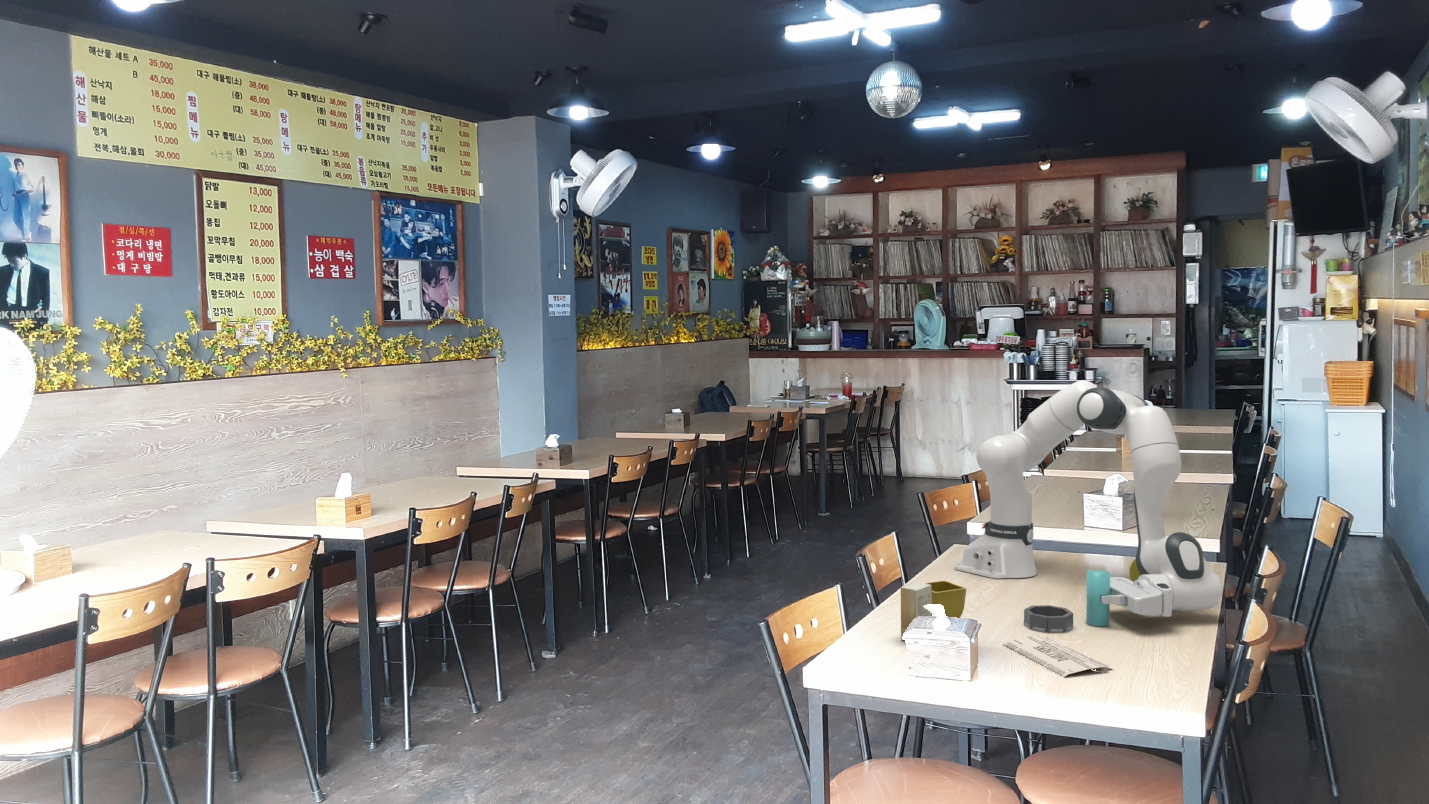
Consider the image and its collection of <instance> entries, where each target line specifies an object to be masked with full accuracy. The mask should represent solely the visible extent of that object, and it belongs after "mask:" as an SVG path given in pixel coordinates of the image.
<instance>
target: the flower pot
mask: <svg viewBox="0 0 1429 804" xmlns="http://www.w3.org/2000/svg"><path fill="white" fill-rule="evenodd" d="M923 583H924V584H929V585H931V595H932V604H941V605H943V606H944V609H945V614H946V616H948V617H957V618H960V619H961V617H962V614H963V613H964V609H965V605H966V594H967V587H965V586H961V585H958V584H956V583H952V582H950V581H948V580H937V581H932V582H923Z"/></svg>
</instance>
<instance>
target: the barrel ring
mask: <svg viewBox="0 0 1429 804" xmlns="http://www.w3.org/2000/svg"><path fill="white" fill-rule="evenodd" d="M1024 624H1025V625H1024ZM1023 625H1024V626H1025V627H1026V628H1027V627H1028V628H1027V629H1029V628H1030V629H1032V630H1031V631H1035V630H1036V632H1039V631H1042V632H1041V633H1046V632H1052V633H1051V634H1061V633H1068V632H1069V631H1072V630H1073V629H1074V612H1072V611H1071V610H1069V609H1068V608H1066V607H1063V606H1062V607H1060V606H1055V605H1048V604H1046V605H1045V604H1044V605H1030V606H1029V607H1026V608H1025V609H1024V610H1023ZM1072 628H1073V629H1072ZM1030 629H1029V630H1030ZM1067 631H1068V632H1067ZM1053 632H1054V633H1053Z"/></svg>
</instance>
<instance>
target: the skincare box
mask: <svg viewBox="0 0 1429 804" xmlns="http://www.w3.org/2000/svg"><path fill="white" fill-rule="evenodd" d="M924 583H925V582H919V581H914V582H911V583H908V584H905V585H902V586H900V639H901V638H902V636H903V633H904V632H905V630H906V629H907V627H908V626H909V624H910V623H911V622H912V620H913V619H914V618H916V617H918V616H932V613H930V611H928V610H927V609H925V608H924V607H923V606H924V605H927V604H932V595H931V585H929V584H924Z"/></svg>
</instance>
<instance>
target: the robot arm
mask: <svg viewBox="0 0 1429 804" xmlns="http://www.w3.org/2000/svg"><path fill="white" fill-rule="evenodd" d="M1084 425H1085V426H1088V427H1089V428H1091V429H1094V430H1098V431H1101V432H1105V433H1108V434H1115V435H1122V436H1125V438H1126V440H1127V443H1128V449H1129V454H1130V460H1131V463H1132V464H1131V465H1132V473H1133V474H1132V475H1133V502H1134V503H1133V504H1134V512H1135V519H1136V521H1135V522H1136V529H1137V539H1138V540H1137V542H1138V545H1137V550H1136V554H1135V559H1136V566H1137V569H1138V571H1139V573H1140V574H1141V575H1140V576H1139V578H1138V579H1137V580H1136V581H1134V582H1133V581H1131V579H1129V578H1127V577H1120V576H1119V577H1118V576H1110V595H1100V602H1101V603H1103V604H1110V605H1115V606H1121V607H1122V608H1124V609H1126V610H1128V611H1130V612H1132V613H1134V614H1136V615H1137V614H1138V615H1141V616H1143V615H1145V616H1160V617H1163V618H1168V617H1172V612H1173V611H1180V612H1197V611H1198V612H1199V611H1204V610H1209V609H1211V608H1214V607H1215V606H1217V605H1218V603H1219V602H1220V601H1221V598H1222V595H1223V583H1222V581H1221V580H1222V579H1221V578H1220V577H1219V576H1218V575H1217V573H1215V572H1214V571H1213V570H1212V569H1211V567H1210V566H1209V564H1208V563H1207V561H1206V559H1205V556H1204V551H1203V548H1202V545H1201V544H1200V542H1199V541H1198V540H1197V539H1196V538H1195V537H1194V536H1193V535H1191V534H1189V533H1187V532H1183V531H1179V532H1178V531H1177V532H1174V533H1171V534H1169V535H1166V529H1165V521H1164V512H1163V506H1164V501H1165V498H1166V497H1167V494H1168V492H1169V490H1170V489H1171V488H1172V486H1173V484H1174V483H1175V482H1176V481H1177V480H1178V478H1179V476H1180V474H1181V470H1182V458H1181V451H1180V448H1179V443H1178V440H1177V436H1176V433H1175V431H1174V430H1175V429H1174V427H1173V425H1172V422H1171V420H1170V418H1169V416H1168V413H1167V412H1166V410H1165V409H1163V408H1162V407H1161V406H1157V405H1150V404H1149V403H1148V402H1147V401H1146V400H1144V399H1143V398H1141V397H1140V396H1138V395H1134V394H1131V393H1129V392H1126V391H1123V390H1118V389H1111V388H1107V387H1101V386H1100V387H1099V386H1097V385H1096V384H1094V383H1093V382H1091V381H1089V380H1084V379H1082V380H1081V379H1080V380H1077V381H1075V382H1073V383H1071V384H1069V385H1067V386H1065V387H1064V388H1062V389H1061V390H1059V391H1057V392H1055V393H1054V394H1053V395H1052V396H1050V397H1049V398H1048V399H1047V400H1045V401H1044V402H1043V403H1042V404H1040V405H1039V406H1038V407H1036V408H1035V409H1034V410H1033V411H1032V412H1030V413H1028V415H1027V417H1026V420H1025V421H1024V422H1023V424H1021V425H1020V426H1019V427H1018V428H1017V429H1016V430H1014V431H1011V432H1009V433H1006V434H1001V435H994V436H992V437H990V438H988V439H986V440H985V441H983V442H982V443H981V444H980V445H979V446H978V448H977V451H976V456H975V457H976V462H977V465H978V467H979V468H980V469H981V471H982V472H983V473H984V475H985V477H986V481H987V485H988V489H989V496H990V500H989V502H990V520H989V521H986V522H985V523H983V524H981V526H982V527H981V529H984V533H983V534H982V535H980V536H979V537H978V538H976V539H975V540H973V541H972V542H970V543H969V544H968V545H966V547H965V548H964V551H963V552H964V553H963V555H962V560H960V561H958V562H956V563H955V564H954V570H957V571H960V572H961V571H962V572H965V573H969V574H975V575H979V576H982V577H987V578H990V579H998V580H999V579H1022V578H1031V577H1034V576H1036V575H1038V571H1037V567H1036V564H1035V563H1036V562H1035V558H1034V550H1033V543H1034V522H1032V519H1033V518H1032V517H1033V516H1032V515H1033V514H1032V513H1033V508H1032V506H1033V503H1032V502H1033V499H1032V498H1033V497H1032V494H1031V492H1030V491H1029V489H1028V487H1027V485H1026V482H1025V478H1024V472H1027V471H1030V470H1033V469H1034V468H1036V467H1037V466H1039V465H1040V464H1041V463H1042V462H1043V461H1044V459H1045V458H1046V457H1047V456H1049V454H1050V453H1051V452H1052V451H1053V450H1054V449H1055V448H1056V447H1057V446H1058V445H1059V444H1061V443H1062V442H1063V441H1065V440H1066V439H1068V438H1069V437H1070V436H1071V435H1074V433H1076V432H1077V431H1078V430H1079V429H1081V428H1082V427H1083V426H1084Z"/></svg>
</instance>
